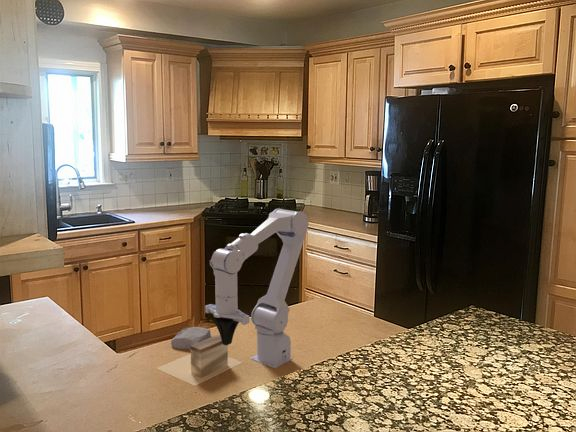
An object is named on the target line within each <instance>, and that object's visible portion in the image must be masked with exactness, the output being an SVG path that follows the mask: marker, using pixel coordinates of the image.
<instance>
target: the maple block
mask: <svg viewBox="0 0 576 432" xmlns="http://www.w3.org/2000/svg"><path fill="white" fill-rule="evenodd" d="M228 346H229V345H223V343H222V340H221V336H220V334H216V335H213V336H212V337H211V336H210V338H208V339H206V340H203V341H201V342H199V343H196V344H194V345H191V346H190V349H189V350H190V354H191V374H193V375H195V376H198V377H200V378H202V377H204V376H206V375H208V374H211V373H213V372H215V371H217V370H219V369H221V368H223V367H225V366H227V365H228V357H229V355H228V354H229V351H228Z"/></svg>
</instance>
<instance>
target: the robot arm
mask: <svg viewBox="0 0 576 432" xmlns="http://www.w3.org/2000/svg"><path fill="white" fill-rule="evenodd" d="M309 225H310V223H309V221H308V217H307V215H306V213H305V212H304V211H295V210H289V209H284V208H275V209H274V210H273V211H271V212H270V213H269V214H268V217H267V219H266V220H265V221H263V222H262V223H261V224H260V225H258V227H256V228H255V230H253V231H252V232H251V233H248V232H245V233H240V234H239V235H238V237H237V238H236V239H235V240H233V241H232V242H231V243H228V244H227V245H226V246H225V247H224V248H218V249H216V250H215V251H213V253H212V256H211V259H210V260H209V265H210V267H211V268H212V270H213V276H214V282H215V283H214V284H215V285H214V287H215V290H214V292H215V304H212V303H210V304H209V303H208V304H206V305H205V306H204V309H205V310H204V312H205V314H209V313H210V314H213V317H214V319H213V323H214V325H215V326H216V329H217V330H218V333H219V335H220V336H221V340H222V343H223V345H228V346H229V345H231V344H232V342H233V338H234V334H235V331H236V330H237V327H238V325H239V323H240V324H241V325H243V326H245V325H247V324H250V321H251V323H252V324H253V325H254V329H255V330H256V355H253V356H251V357H250V360H251V361H253V362H254V361H255V362H257V363H259V364H262V365H265V366H267V367H270V368H274V369H277V368H278V367H280V366H282V365H284V364H286V363H288V362H289V361H291V360H293V358H292V357H291V355H292V354H291V349H292V348H291V346H292V344H291V342H292V341H291V337H290V336H289V335H288V334H287V333H285V332H284V331H285V329H286V327H287V325H288V321H289V312H290V307H289V305H288V304H287V302H286V300H285V299H286V296H287V294H288V290H289V288H290V285H291V281H292V279H293V276H294V272H295V268H296V266H297V263H298V260H299V258H300V253H301V252H302V251H301V250H302V247H303V244H304V240H305V238H306V234H307V231H308V228H309ZM275 233H276V234H277V235H278V237H279V238H280V239H281V241H282V244H283V245H282V246H281V250H280V253H279V256H278V259H277V263H276V265H275V268H274V271H273V274H272V277H271V280H270V283H269V287H268V289H267V292H266V294H264V295H263V296H262V297H260V298H258V300H257V303H256V305H255V306H254V308H253V309H252V311H251V314H250V315H248V314H246V313H244V312H242V311H241V310H240V309H238V301H239V300H238V272H239V271H240V270H241V268H242V266H243V263H244V262H245V260H247V259H248V258H249V257H251V256H252V255H253V254H254V253H256V252H257V250H258V249H259V244H260V243H263V241H265V240H266V239H268V238H270V237H271V236H273V235H274V234H275ZM273 307H274V308H273Z"/></svg>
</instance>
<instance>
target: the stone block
mask: <svg viewBox="0 0 576 432" xmlns="http://www.w3.org/2000/svg"><path fill="white" fill-rule="evenodd" d="M211 334H212V333H211V329H210V328H205V327H200V326H191V327H185V328H183V329H181V330H180V331H178V332H177V333H176V334H175V336H174V337H173V338H172V339H171V340H170V344H171V348H174V349H182V350H190V346H191V345H194V344H196V343H199V342H201V341H203V340H206V339H208V338H211Z"/></svg>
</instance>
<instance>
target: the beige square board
mask: <svg viewBox="0 0 576 432" xmlns="http://www.w3.org/2000/svg"><path fill="white" fill-rule="evenodd" d="M240 364H243V361H240V360H238V359H235V358H232V357H229V356H228V365H227V366H225V367H223V368H221V369H219V370H217V371H215V372H213V373H211V374H208V375H206V376H204V377H202V378H200V377H198V376H195V375H193V374H191V353H189V354H186V355H184V356H182V357H180V358H177V359H174V360H172V361H170V362H167V363H166V364H162V365H161V366H158V367H156V368H155V369H156V370H159V371H161V372H163V373H165V374H167V375H169V376H172V377H174V378H176V379H178V380H180V381H183V382H185V383H187V384H189V385H190V386H191V385H192V386H194V387H196V386H199V385H200V384H202V383H204V382H206V381H208V380H210V379H212V378H214V377H217V376H218V375H220V374H222V373H224V372H226V371H228V370H231V369H232V368H235V367H237V366H238V365H239V366H240Z"/></svg>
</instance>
